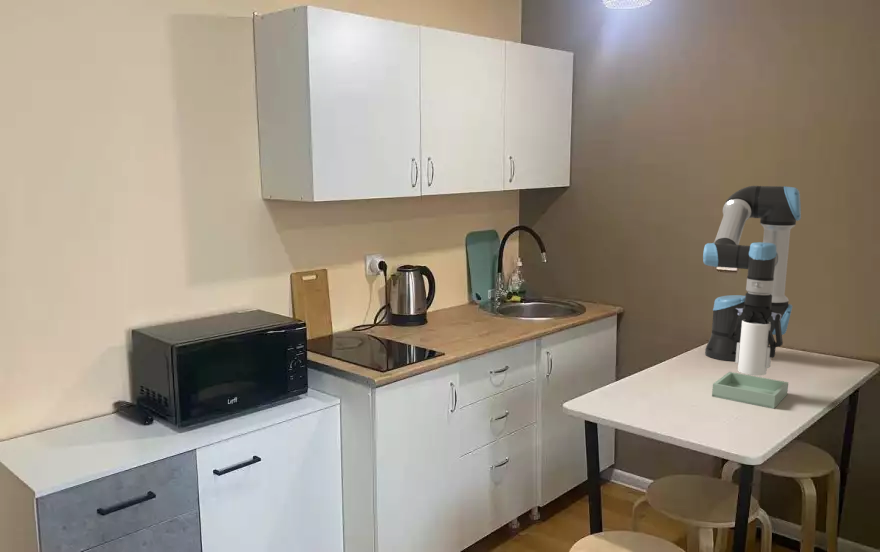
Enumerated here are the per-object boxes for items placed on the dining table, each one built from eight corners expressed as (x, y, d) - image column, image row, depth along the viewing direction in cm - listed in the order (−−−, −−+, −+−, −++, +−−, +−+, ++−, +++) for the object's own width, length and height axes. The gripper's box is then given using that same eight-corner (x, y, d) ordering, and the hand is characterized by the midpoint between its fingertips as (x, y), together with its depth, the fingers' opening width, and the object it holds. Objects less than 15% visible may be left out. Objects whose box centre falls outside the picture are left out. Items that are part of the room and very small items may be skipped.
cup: (761, 369, 229) (765, 319, 227) (770, 376, 221) (775, 324, 219) (734, 367, 230) (738, 318, 227) (742, 374, 222) (746, 323, 219)
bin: (728, 383, 239) (729, 371, 238) (787, 394, 228) (788, 382, 228) (711, 396, 225) (712, 383, 224) (773, 408, 214) (775, 395, 214)
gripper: (720, 290, 225) (714, 361, 228) (793, 298, 213) (786, 373, 216) (727, 287, 231) (721, 356, 234) (798, 295, 219) (791, 368, 222)
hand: (752, 364), depth 225 cm, fingers closed on cup, 8 cm apart
